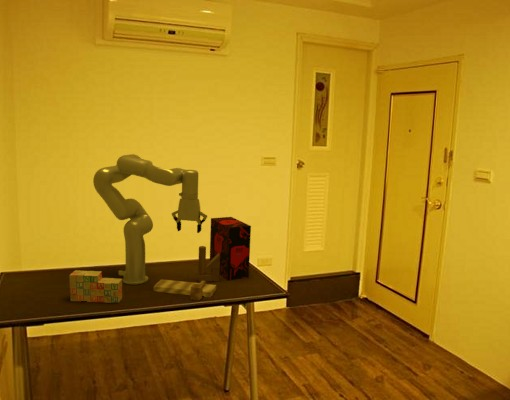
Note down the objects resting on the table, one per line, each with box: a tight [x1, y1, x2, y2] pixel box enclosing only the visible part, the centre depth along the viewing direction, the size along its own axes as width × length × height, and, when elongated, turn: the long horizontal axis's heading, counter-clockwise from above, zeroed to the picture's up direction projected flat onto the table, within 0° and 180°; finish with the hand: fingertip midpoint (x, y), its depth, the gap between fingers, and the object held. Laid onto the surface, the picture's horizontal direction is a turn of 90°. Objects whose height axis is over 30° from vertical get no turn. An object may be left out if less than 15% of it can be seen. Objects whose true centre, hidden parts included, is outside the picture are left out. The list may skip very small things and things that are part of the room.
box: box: [209, 216, 252, 281], centre depth 240 cm, size 23×12×28 cm, turn 29°
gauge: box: [190, 281, 207, 301], centre depth 209 cm, size 4×14×6 cm, turn 171°
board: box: [153, 278, 217, 298], centre depth 213 cm, size 28×10×2 cm, turn 81°
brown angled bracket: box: [196, 245, 220, 283], centre depth 226 cm, size 4×11×18 cm, turn 103°
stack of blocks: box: [68, 269, 123, 304], centre depth 197 cm, size 21×6×12 cm, turn 89°
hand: (188, 231), depth 212 cm, fingers open, 9 cm apart
